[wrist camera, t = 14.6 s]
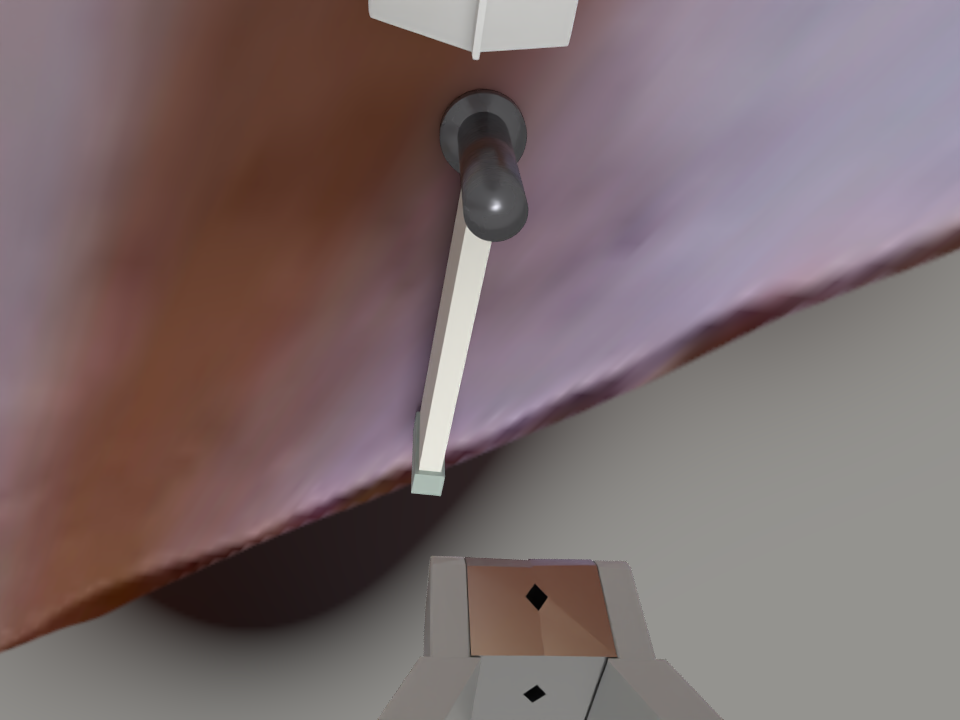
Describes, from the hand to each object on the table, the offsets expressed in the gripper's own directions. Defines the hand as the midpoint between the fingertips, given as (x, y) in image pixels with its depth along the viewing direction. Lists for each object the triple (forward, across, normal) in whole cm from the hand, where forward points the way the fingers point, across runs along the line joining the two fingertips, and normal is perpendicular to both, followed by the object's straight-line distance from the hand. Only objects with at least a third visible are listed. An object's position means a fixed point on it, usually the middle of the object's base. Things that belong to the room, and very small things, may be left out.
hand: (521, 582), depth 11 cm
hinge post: (+35, -2, +5) cm, 35 cm away
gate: (+34, -1, +17) cm, 38 cm away
